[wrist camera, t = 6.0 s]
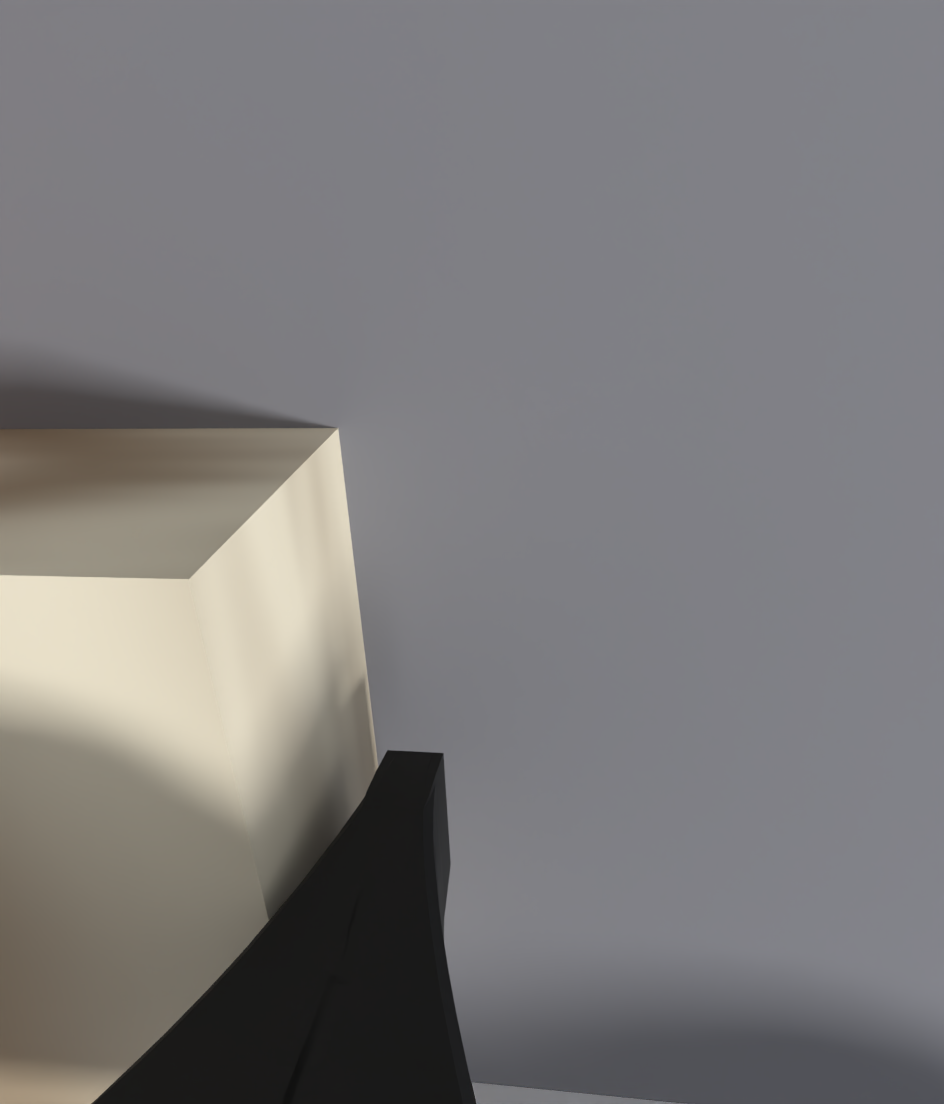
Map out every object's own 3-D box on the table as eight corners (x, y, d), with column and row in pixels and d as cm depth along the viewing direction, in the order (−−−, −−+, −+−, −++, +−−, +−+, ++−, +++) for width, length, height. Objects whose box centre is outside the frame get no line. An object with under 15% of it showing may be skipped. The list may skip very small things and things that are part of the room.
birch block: (338, 427, 9) (189, 579, 5) (400, 955, 13) (341, 1236, 10) (-233, 430, 10) (-693, 560, 6) (2, 923, 14) (-187, 1169, 10)
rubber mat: (1866, -425, 5) (1962, -469, 5) (1027, 1114, 14) (1038, 1138, 13) (-844, -117, 8) (-911, -132, 8) (-130, 1002, 17) (-145, 1020, 16)
